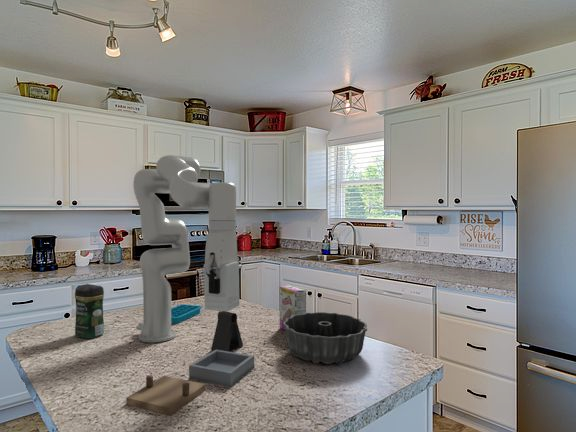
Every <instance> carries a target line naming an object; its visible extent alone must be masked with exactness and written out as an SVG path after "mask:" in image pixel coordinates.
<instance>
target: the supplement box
mask: <svg viewBox="0 0 576 432" xmlns="http://www.w3.org/2000/svg"><path fill="white" fill-rule="evenodd" d="M212 267H217V265H212ZM213 271H214V272H215V273H216V270H213ZM203 275H204V276H203V277H204V278H203V285H204V286H203V289H204V293H203V294H204V297H203V298H204V310H206V311H215V312H217V311H218V312H219V311H221V312H222V311H226V312H230V311H232V310H233V309H236V308H238V307H240V261H239V262H232V263H228V264H224V265H222V268H221V269H220V274H219V277H218V279H220V293H219V294H213V293H209V279H208V278H207V274H206V271H205V269H204V268H203Z"/></svg>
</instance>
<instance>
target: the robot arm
mask: <svg viewBox="0 0 576 432" xmlns="http://www.w3.org/2000/svg"><path fill="white" fill-rule="evenodd" d="M155 166H156V168H144V169H140V170H138V171H137V172H136V173H135V175H134V176H133V183H132V184H133V192H134V196H135V198H136V199H135V200H136V201H137V204H138V208H139V215H140V216H139V217H140V226H141V227H140V229H141V236H142V240H143V242H144V244H146V245H149V246H165V245H167V246H168V245H171V247H167V248H166V247H164V248H152V249H148V250H146V251H144V252H143V253H142V254H141V255H140V257H139V258H140V259H139V266H140V272H141V279H142V298H143V299H142V303H143V305H142V308H143V309H142V310H143V311H142V312H143V313H142V318H143V319H142V320H143V322H139V323H138V325H136V327H135V329H136V330H138V331H140V334H139V335H138V340H139V341H141V342H143V343H148V344H149V343H152V344H153V343H162V342H166V341H167V342H168V341H170V340H172V339H174V338H175V337H176V335H177V333H176V330H174V329H172V323H171V308H172V287H171V284H170V282H169V281H168V280H167V279H166V277H165V276H168V275H175V274H182V273H185V272H186V271H188V270H189V268H190V265H191V256H190V254H191V253H190V244H189V235H188V229H187V226H186V223H184V221H183V220H182V219H179V218H167V217H166V213H165V212H166V209H165V205H164V203H163V202H162V200H161V198H159V197H158V196H157V195H156V194H169V195H170V197H171V199H172V200H173V201H174V203H176V204H178V205H179V206H180V207H182V208H184V209H188V210H192V209H193V210H195V209H200V210H201V209H203V210H204V209H205V210H208V232H207V234H206V235H207V236H206V242H205V251H204V264H203V270H204V269H205V271H206V274H207V278H208V279H209V293H213V294H219V293H220V279H218V277H219V274H220V269H221V268H222V265H224V264H228V263H232V262H239V263H240V258H239V256H238V241H237V234H236V233H237V188H236V184H234V183H232V182H223V181H222V182H221V181H217V182H211V183H209V182H198V180H199V178H200V176H201V171H202V169H201V165H200V163H199V162H198V160H197V159H196V158H194V157H190V156H182V155H171V154H170V155H169V154H168V155H167V154H166V155H164V156H161V157H160V158H159V159H158V161H157V162H156V165H155ZM212 265H217V267H212ZM213 270H216V273H215V272H214V271H213Z"/></svg>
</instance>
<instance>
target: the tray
mask: <svg viewBox="0 0 576 432" xmlns="http://www.w3.org/2000/svg"><path fill="white" fill-rule="evenodd" d="M253 369H255V355H252V354H245V353H239V352H234V351H232V352H228V351H222V350H214V351H211V352H209V353H207V354H206V355H204V356H202V357H201V358H199V359H197V360H196V361H194V362H193V363H191V364H189V365H188V379H190V380H194V381H200V382H205V383H209V384H210V383H211V384H214V385H220V386H224V387H228V388H229V387H230V388H231V387H232V386H234V385H235V384H237V383H238V382H239V381H240V380H241V379H243V378H244V377H245V376H246V375H248V374H249V373H250V372H251V371H252V370H253Z"/></svg>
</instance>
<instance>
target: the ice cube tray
mask: <svg viewBox="0 0 576 432" xmlns="http://www.w3.org/2000/svg"><path fill="white" fill-rule="evenodd" d="M201 309H203V306H202V305H195V304H185V303H184V304H182V303H181V304H178V305H176V306H173V307H171V324H180V323H182V322H184V321H186V320H189V319H190V318H192V317H195V316H196V315H200V314H201Z"/></svg>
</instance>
